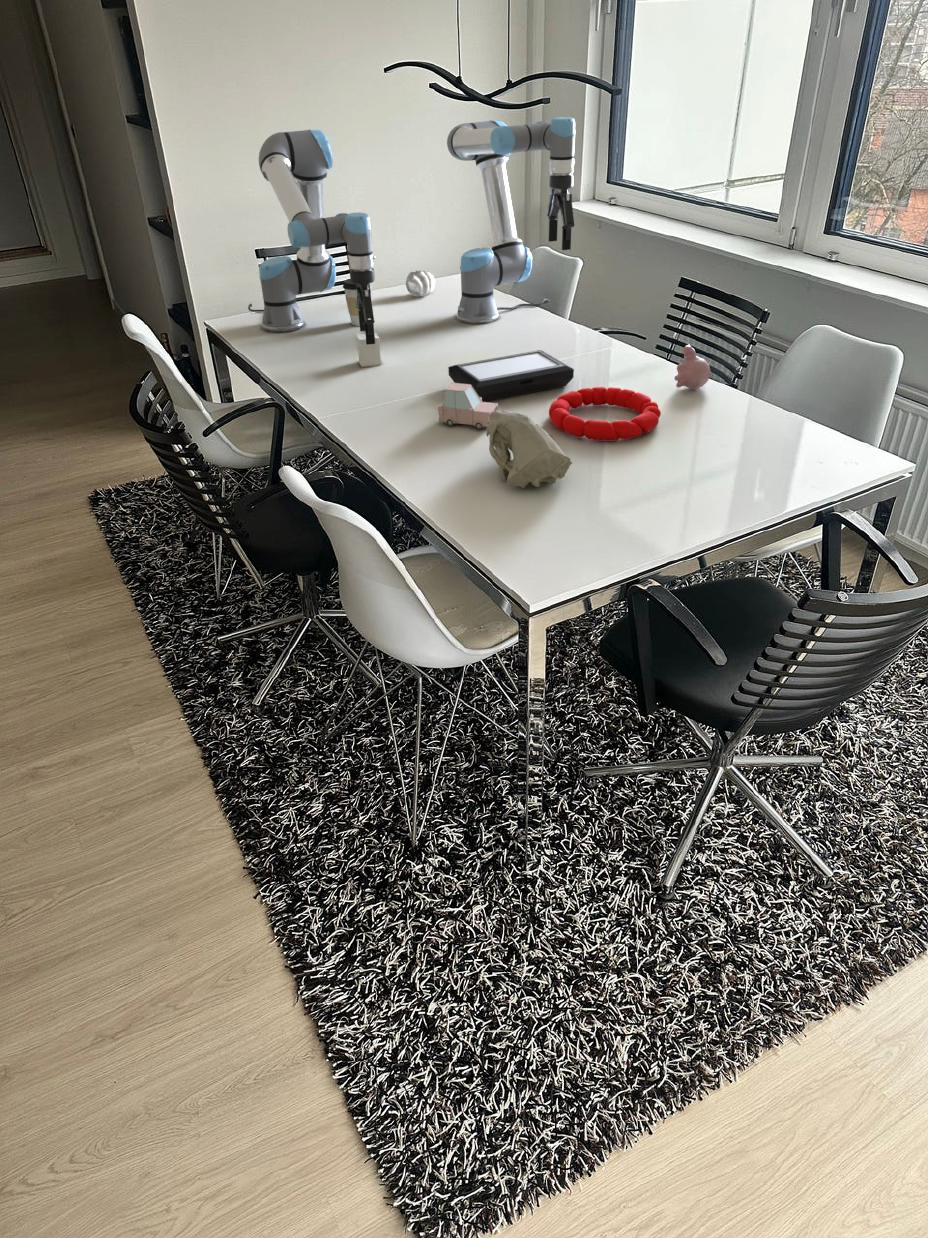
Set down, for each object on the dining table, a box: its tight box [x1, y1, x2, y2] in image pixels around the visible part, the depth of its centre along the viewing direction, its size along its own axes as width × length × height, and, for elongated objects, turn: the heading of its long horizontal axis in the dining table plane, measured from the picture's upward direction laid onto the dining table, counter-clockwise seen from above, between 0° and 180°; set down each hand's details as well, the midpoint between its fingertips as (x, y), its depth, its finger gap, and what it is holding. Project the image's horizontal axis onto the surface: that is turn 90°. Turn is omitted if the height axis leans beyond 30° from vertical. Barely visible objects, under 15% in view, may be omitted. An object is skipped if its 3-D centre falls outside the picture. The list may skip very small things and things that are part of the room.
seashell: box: [405, 270, 436, 298], centre depth 352 cm, size 10×15×10 cm
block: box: [355, 332, 382, 368], centre depth 288 cm, size 6×6×9 cm
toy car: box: [437, 382, 499, 431], centre depth 243 cm, size 9×15×10 cm, turn 70°
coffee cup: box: [342, 278, 371, 327], centre depth 323 cm, size 10×10×15 cm
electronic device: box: [448, 349, 575, 402], centre depth 267 cm, size 32×6×20 cm
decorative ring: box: [548, 386, 661, 442], centre depth 242 cm, size 7×30×30 cm
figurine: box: [674, 344, 711, 390], centre depth 259 cm, size 9×11×12 cm
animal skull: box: [485, 409, 573, 489], centre depth 216 cm, size 17×25×20 cm
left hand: (367, 337), depth 286 cm, fingers open, 13 cm apart
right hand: (559, 245), depth 292 cm, fingers open, 13 cm apart
